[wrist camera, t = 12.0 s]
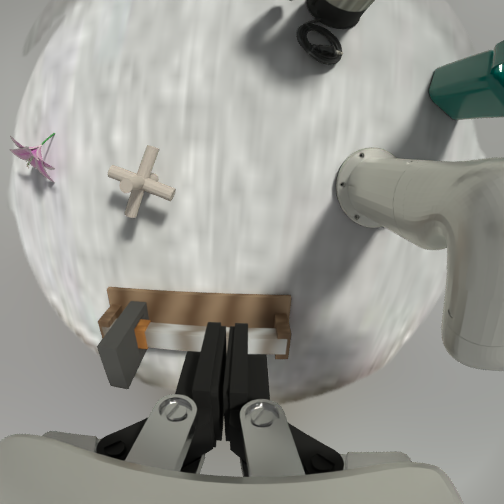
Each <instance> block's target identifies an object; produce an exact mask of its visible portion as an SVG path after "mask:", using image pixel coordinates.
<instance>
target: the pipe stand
mask: <svg viewBox="0 0 504 504" xmlns="http://www.w3.org/2000/svg"><path fill="white" fill-rule="evenodd" d="M107 293H108V298H109V303H110V307H109V308H108V310H107V311H106V312H105V313H104V314H103V316H102V317H101V318H100V319H99V320H98V324H99V327H100V331H101V335H102V338H104V336H105V335H106V333H107V332H108V331H109V329H110V328H111V327H112V325H113V324H114V322H115V321H116V320H117V318H118V317H119V316H120V314H121V313H122V312H123V310H124V309H125V308H126V306H127V305H128V304H129V302H130V301H138V302H146V303H147V310H148V316H149V320H144V319H140V321H139V322H138V324H137V326H136V327H135V329H134V331H135V336H136V340H137V345H138V348H141V349H148V347H150V348H159V349H169V350H180V351H197V352H201V348H202V344H203V339H204V335H205V331H206V327H207V323H208V322H221V326H226V348H228V339H229V330H230V326H235V323H248V354H275V359H288V355H289V348H290V340H291V330H290V326H289V315H290V306H291V295H261V294H224V293H199V292H179V291H161V290H145V289H131V288H118V287H108V288H107Z"/></svg>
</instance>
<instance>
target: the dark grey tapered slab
mask: <svg viewBox="0 0 504 504" xmlns="http://www.w3.org/2000/svg"><path fill="white" fill-rule="evenodd" d="M140 319H144V320H149V316H148V310H147V303H146V302H138V301H130V302H129V304H128V305H127V306H126V308H125V309H124V310H123V312H122V313H121V314H120V316H119V317H118V318H117V320H116V321H115V322H114V324H113V325H112V327H111V328H110V329H109V331H108V332H107V333H106V335H105V336H104V338H103V339H102V340H101V342H100V343H99V345H98V346H97V348H98V351H99V354H100V357H101V360H102V363H103V366H104V369H105V372H106V374H107V377H108V380H109V383H110V385H111V386H114V387H119V388H124V389H129V386H130V384H131V382H132V380H133V378H134V376H135V373H136V371H137V369H138V367H139V365H140V363H141V361H142V359H143V357H144V354H145V352H146V350H147V349H141V348H138V345H137V340H136V336H135V331H134V329H135V327H136V326H137V324H138V322H139V321H140Z"/></svg>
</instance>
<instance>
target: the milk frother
mask: <svg viewBox="0 0 504 504" xmlns="http://www.w3.org/2000/svg"><path fill="white" fill-rule="evenodd" d="M290 1H291V0H290ZM374 1H375V0H307V7H308V10H309V12H310V13H311V14H312V16H314V18H315V20H312V21H309V22H307V23H305V24H303V25H301V26H300V27H299V28H298V30H297V39H298V42H299V44H300V45H301V47H302V48H303V49H304V50H305V51H306V52H307V53H308V54H309V55H310V56H311V57H313V58H314V59H315V60H317V61H319V62H321V63H323V64H335V63H337V62H338V61H339V60H340V59H341V56H342V54H343V52H342V47H341V44H340V42H339V40H338V39H337V38H336V37H335V36H334V35H333V34H332V33H331V32H330V31H328V30H327V29H325V28H324V27H321V26H319V25H315V24H312V23H315V22H321V23H323V24H325V25H327V26H329V27H333V28H338V29H346V28H351V27H353V26H355V25H356V24H357V23H358V21H359V19H360V17H361V15H362V14H363V13H364V12H365V11H366V9H367V8H368V7H369V6H370V5H371V4H372V3H373V2H374ZM308 31H317V32H320V33H322V34H323V35H325V36H326V37H327V38H328V39H329V40H330V41H331V42H332V43H333V45H331V46H323V45H318V46H317V45H314V44H313V45H311V44H310V43H309V41H308V39H307V32H308Z"/></svg>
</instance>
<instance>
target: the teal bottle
mask: <svg viewBox="0 0 504 504" xmlns="http://www.w3.org/2000/svg"><path fill="white" fill-rule="evenodd" d="M429 95H430V97H431V99H432V101H433V102H434V103H435V104H436V105H437V106H439V107H440V108H441V109H442V110H443V111H444V112H445V113H446V114H448V115H449V116H450V117H451V118H452V119H454V120H463V119H476V118H493V117H504V41H502V42H500V43H498V44H497V45H496V46H495V48H494V50H489V51H485V52H482V53H479V54H476V55H473V56H470V57H467V58H464V59H461V60H458V61H455V62H452V63H449V64H447V65H444V66H441V67H439V68H437V69H436V70H435V73H434V76H433V79H432V82H431V85H430V88H429Z"/></svg>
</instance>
